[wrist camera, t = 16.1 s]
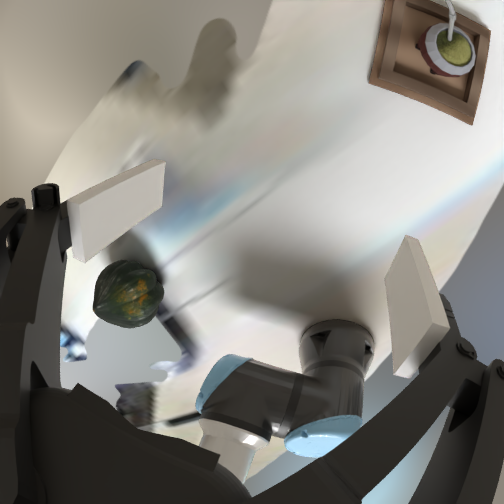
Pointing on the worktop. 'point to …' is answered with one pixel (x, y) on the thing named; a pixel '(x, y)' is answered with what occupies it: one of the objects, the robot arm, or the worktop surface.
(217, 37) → the worktop surface
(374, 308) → the worktop surface
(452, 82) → the holder board
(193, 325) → the worktop surface
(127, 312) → the squash
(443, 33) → the mate gourd
